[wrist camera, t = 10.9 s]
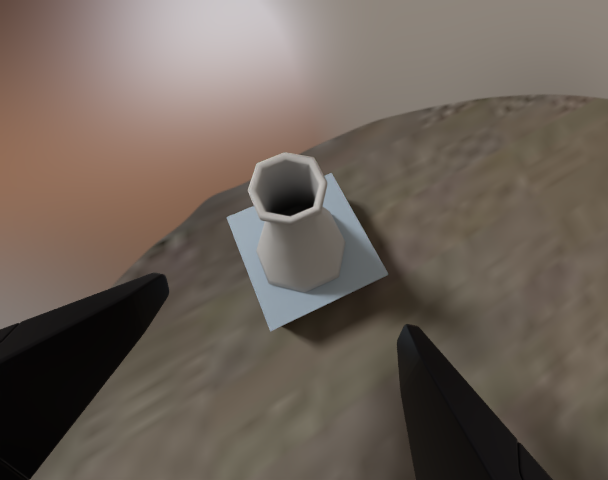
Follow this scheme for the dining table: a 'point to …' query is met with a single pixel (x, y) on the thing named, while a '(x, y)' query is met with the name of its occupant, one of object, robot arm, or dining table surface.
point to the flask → (295, 223)
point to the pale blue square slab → (293, 304)
